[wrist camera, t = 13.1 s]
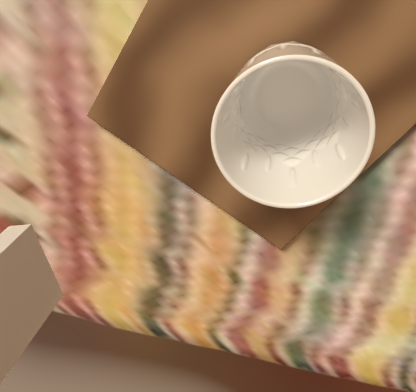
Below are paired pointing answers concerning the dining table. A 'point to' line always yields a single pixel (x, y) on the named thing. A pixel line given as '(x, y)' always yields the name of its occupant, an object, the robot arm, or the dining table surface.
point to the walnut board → (229, 68)
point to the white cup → (292, 127)
